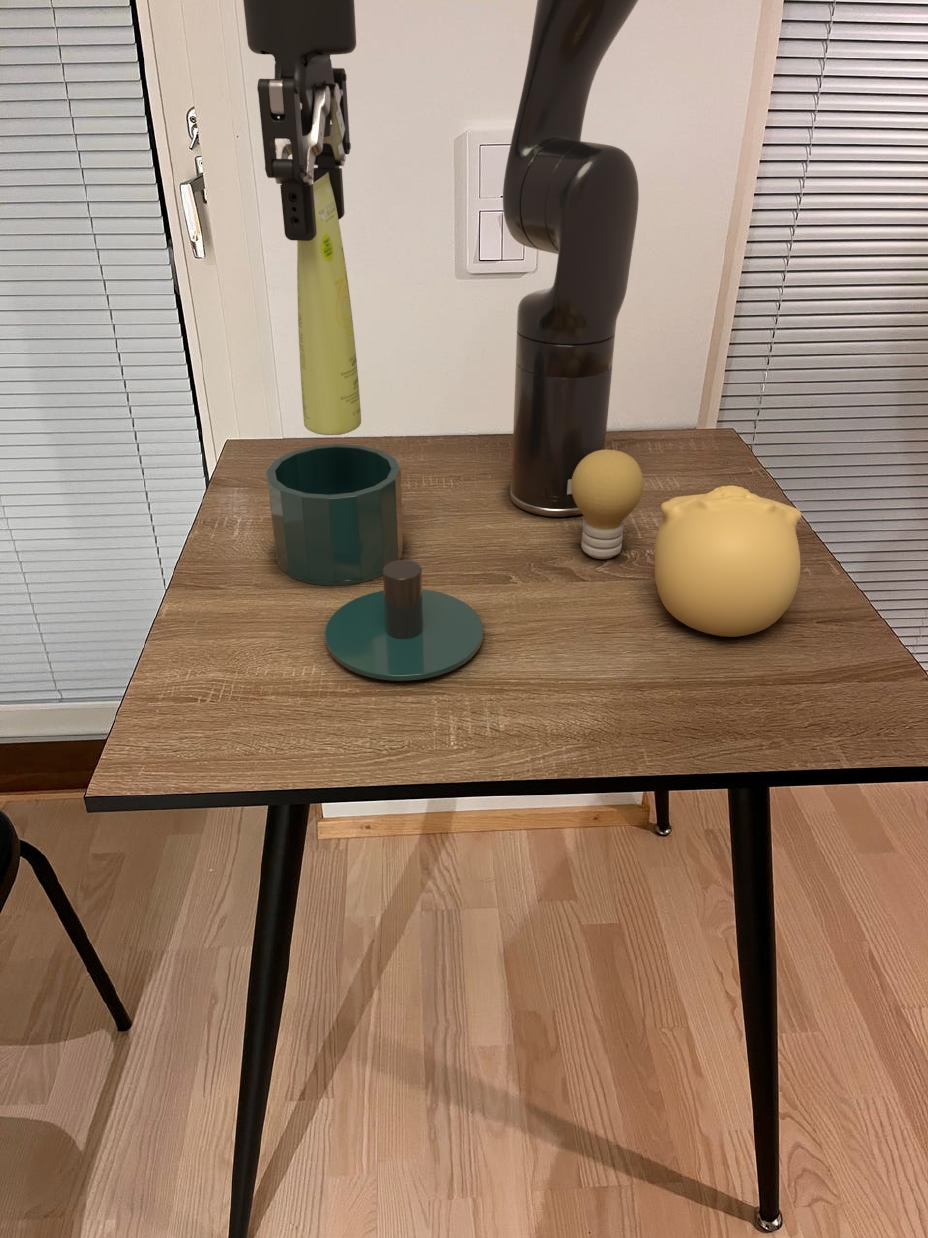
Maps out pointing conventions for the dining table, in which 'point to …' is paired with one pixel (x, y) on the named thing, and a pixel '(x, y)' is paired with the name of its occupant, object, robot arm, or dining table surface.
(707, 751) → the dining table surface
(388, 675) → the pot lid
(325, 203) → the tube
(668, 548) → the sculpture
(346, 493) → the pot
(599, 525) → the light bulb
